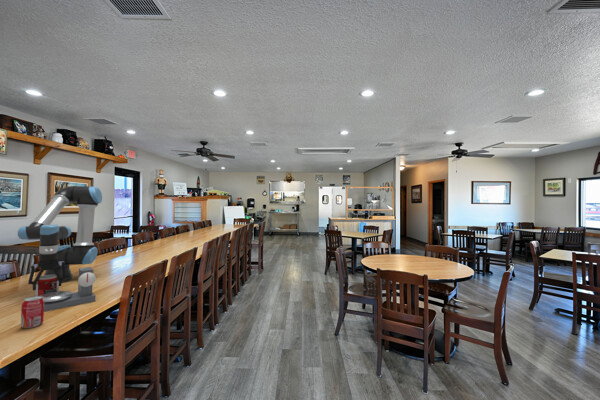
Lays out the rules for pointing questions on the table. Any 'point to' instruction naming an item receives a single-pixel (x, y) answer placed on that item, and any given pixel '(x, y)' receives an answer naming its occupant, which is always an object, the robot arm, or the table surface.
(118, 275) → the table surface
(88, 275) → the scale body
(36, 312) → the soda can
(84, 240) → the robot arm
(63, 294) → the pan
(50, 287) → the canned food
